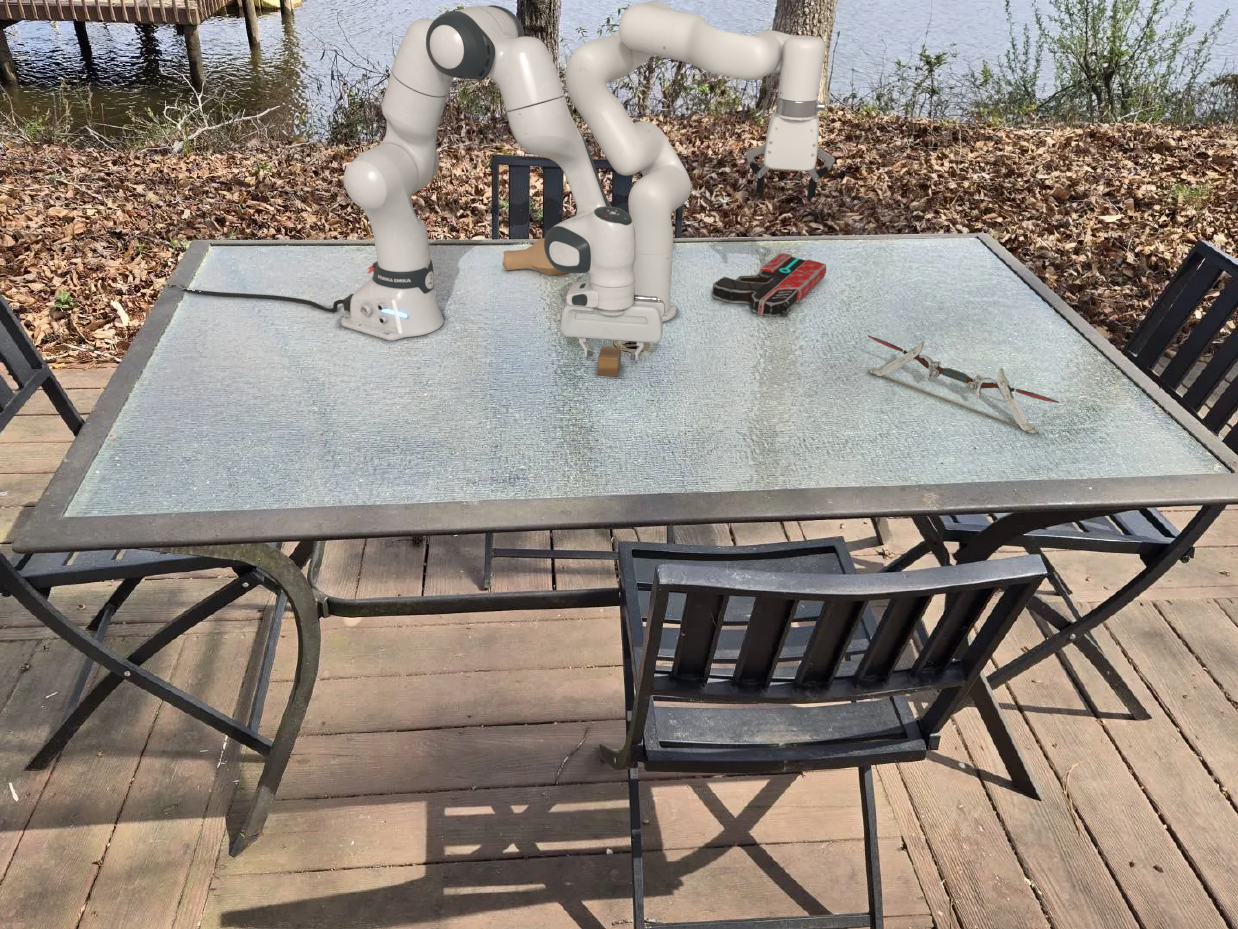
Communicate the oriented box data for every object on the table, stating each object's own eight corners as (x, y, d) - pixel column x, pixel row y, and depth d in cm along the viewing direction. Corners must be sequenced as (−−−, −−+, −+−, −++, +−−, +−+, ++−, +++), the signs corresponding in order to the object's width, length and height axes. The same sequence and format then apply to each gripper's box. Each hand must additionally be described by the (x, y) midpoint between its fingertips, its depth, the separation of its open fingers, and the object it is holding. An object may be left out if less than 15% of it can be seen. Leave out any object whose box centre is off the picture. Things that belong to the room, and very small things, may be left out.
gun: (708, 284, 207) (784, 305, 199) (760, 245, 229) (831, 262, 221) (706, 302, 209) (781, 323, 201) (758, 261, 231) (828, 278, 223)
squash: (582, 279, 220) (577, 247, 214) (504, 286, 221) (496, 255, 215) (583, 257, 228) (579, 225, 221) (508, 264, 229) (501, 233, 223)
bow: (1049, 436, 162) (1066, 388, 156) (1045, 439, 161) (1062, 391, 155) (863, 366, 183) (872, 322, 178) (859, 369, 182) (867, 325, 176)
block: (617, 376, 177) (617, 358, 175) (597, 375, 178) (598, 357, 175) (620, 365, 181) (621, 347, 179) (601, 363, 182) (602, 346, 180)
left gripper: (667, 290, 172) (664, 354, 179) (564, 283, 174) (565, 347, 181) (663, 303, 166) (661, 368, 174) (558, 296, 169) (559, 360, 176)
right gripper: (841, 106, 169) (827, 195, 178) (751, 101, 171) (742, 189, 180) (843, 114, 163) (829, 206, 172) (750, 109, 165) (741, 200, 174)
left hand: (611, 357), depth 178 cm, fingers open, 8 cm apart
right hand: (784, 197), depth 176 cm, fingers open, 9 cm apart
